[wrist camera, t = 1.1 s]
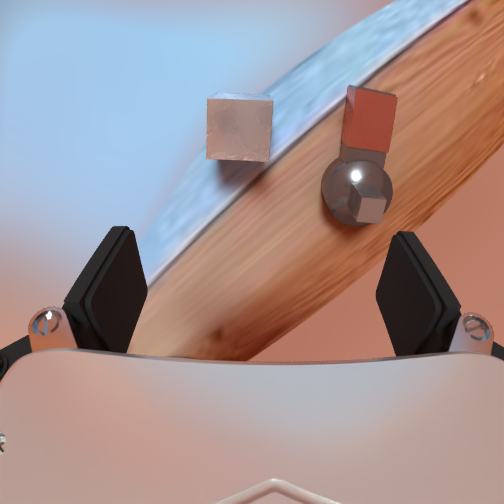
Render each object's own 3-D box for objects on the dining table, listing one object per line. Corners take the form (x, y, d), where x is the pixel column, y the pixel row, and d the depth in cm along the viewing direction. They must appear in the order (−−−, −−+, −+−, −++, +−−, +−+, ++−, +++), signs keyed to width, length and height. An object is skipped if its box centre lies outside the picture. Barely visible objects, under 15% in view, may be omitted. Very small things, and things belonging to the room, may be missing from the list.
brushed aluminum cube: (266, 144, 30) (268, 162, 25) (215, 142, 29) (206, 159, 24) (270, 95, 27) (273, 101, 22) (216, 92, 27) (207, 98, 22)
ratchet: (334, 82, 26) (353, 86, 21) (399, 95, 26) (429, 104, 21) (316, 211, 34) (328, 242, 28) (375, 216, 34) (395, 246, 28)
